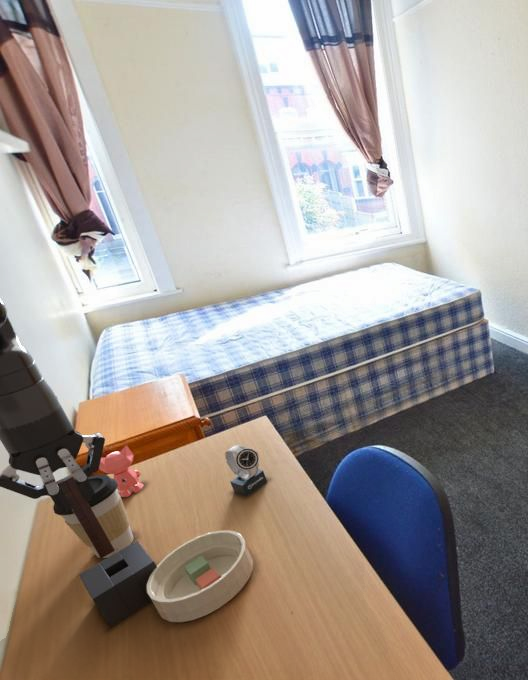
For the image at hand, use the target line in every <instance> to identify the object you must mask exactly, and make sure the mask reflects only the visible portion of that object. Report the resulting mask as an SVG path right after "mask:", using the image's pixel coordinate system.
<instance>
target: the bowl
mask: <svg viewBox="0 0 528 680" xmlns="http://www.w3.org/2000/svg"><path fill="white" fill-rule="evenodd" d="M200 556H202V557H203V558H204V559H205V560H206V561H207V562H208V563H209V566H210V568H214V569H215V570H216V571H217V572H218V574H219V575H220V576H221V578H220V579H218V580H217V581H215V582H214V583H212V584H211V585H210V586H208V587H206V588H204V589H202V590H200V589H199V587H198V585H197V586H196V585H195V584H194V583H193V582H192V580H191V579H190V578H189V576H188V574H187V572H186V570H185V568H184V566H186V565H187V564H189V563H191V562H192V561H194V560H195V559H197V558H198V557H200ZM156 566H157V568H156V569H154V570H153V572H152V573H151V575H150V577H149V580H148V582H147V594H148V595H149V597H150V599H151V601H150V602H152V604H153V606H154V608H155V610H156V611H157V613H158V615H159V616H160V617H161V619H163V620H166V621H167V622H170V623H184V622H190V621H194V620H197V619H200V618H202V617H205V616H208V615H209V614H211V613H213V612H215V611H217V610H218V609H220V608H221V607H223V606H224V605H225V604H227V603H228V602H230V601H231V600H232V599H233V598H235V596H236V595H237V594H238V593H239V592H240V591H241V590H242V589H243V588H244V586H245V585H246V584H247V582H248V581H249V580H250V577H251V575H252V573H253V568H254V560H253V557H252V554H251V551H250V550H249V547H248V545H247V542H246V540H245V538H244V536H243V535H241V534H240V533H239V532H237V531H234V530H224V529H221V530H215V531H210V532H208V533H207V532H206V533H204V534H201V535H198V536H196V537H194V538H192V539H189V540H187V541H186V542H184V543H183V544H181V545H179V546H177V547H176V548H175V549H173V550H172V551H171V552H170V553H168V554H167V555H166V556H165V557H163V558H162V560H161V561H160V562H159V563H158V564H156Z"/></svg>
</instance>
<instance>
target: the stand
mask: <svg viewBox="0 0 528 680" xmlns="http://www.w3.org/2000/svg"><path fill="white" fill-rule="evenodd" d="M156 568H157V564H156V562H155V561H154V560H153V558H152V557H151V556H150V555H149V553H148V552H147V551H146V549H145V548H144V546H143V545H142V544H141V543H140V542H139V541H138V540H136V541H133V542H132V543H131V544H130V545H129V546H127V547H125V548H124V549H122V550H120V551H119V552H117V553H115V554H114V555H112V556H110V557H108V558H104V559H103V560H101V561H100V562H98V563H96V564H95V565H93V566H91V567H89V568H87V569H86V570H84V571H82V572H80V573H79V574H78V576H79V578H80V581H81V582H82V584H83V586H84V587H85V589H86V590H87V592H88V594H89V596H90V598H91V599H92V601H93V603H94V604H95V605H96V607H97V610H99V612H100V613H101V615H102V616H103V618H104V620H105V621H106V623H107V625H108V626H109V627H110V628H112V627H114V626H116V625H117V624H119V623H120V622H122V621H123V620H125V619H126V618H127V617H130V616H131V615H132V614H135V612H137V611H138V610H140V609H142V608H143V607H144V606H145V605H147V604H149V603H150V602H152V601H151V599H150V597H149V595H148V594H147V582H148V580H149V577H150V575H151V573H152V572H153V570H154V569H156Z"/></svg>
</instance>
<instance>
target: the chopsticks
mask: <svg viewBox="0 0 528 680" xmlns="http://www.w3.org/2000/svg"><path fill="white" fill-rule="evenodd" d="M55 481H56V484H57V486H58V487H59V489H60V490H61V491H62V492H63V494H64V496H65V497H66V499H67V501H68V502H69V504H70V506H71V507H72V511H73V512H74V514H75V516H76V517H77V519H78V521H79V522H80V524H81V526H82V528H83V529H84V531H85V533H86V534H87V536H88V538H89V539H90V541H91V543H92V544H93V546H94V548H95V550H96V551H97V553H98V555H99V556H100V558H99V559H104V558H103V557H105V556H106V555H108V554H110V553H112V552H114V551H115V549H114V548H113V546H112V544H111V542H110V541H109V539H108V537H107V535H106V534H105V532H104V530H103V528H102V527H101V525H100V523H99V521H98V520H97V518H96V516H95V514H94V512H93V511H92V509H91V507H90V505H89V504H88V502H87V501H86V499H85V498H84V496H83V494H82V492H81V490H80V489H79V487H78V485H77V483H76V481H75V478H74V475H73V474H70V475H67V476H65V477H63V478H61V479H59V480H55Z"/></svg>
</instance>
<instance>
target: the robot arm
mask: <svg viewBox="0 0 528 680" xmlns="http://www.w3.org/2000/svg"><path fill="white" fill-rule="evenodd" d="M30 353H31V352H29V351H28V349H27V348H26V347H25V346H24V344H23V343H22V342H21V341H20V339H19V336H18V335H17V332H16V331H15V328H14V326H13V324H12V322H11V320H10V318H9V317H8V308H7V307H6V304H5V303H4V301H3V300H2V298H0V442H1V444H2V445H3V447H4V449H5V451H6V452H7V454H8V456H9V457H8V464H9V465H8V466H6V467H5V468H4V469H3V470H2V471H1V472H0V488H3V489H5V490H7V491H11V492H14V493H16V494H19V495H21V496H24V497H27V498H30V499H34V500H36V499H37V500H38V499H39V498H41V497H46V496H48V497H50V498H51V500H52V502H53V504H54V503H55V505H56V507H57V508H58V509H59V510H63V509H66V511H69V510H71V509H72V507H71V506H70V504H69V502H68V501H67V499H66V497H65V496H64V494H63V492H62V491H61V490H60V489H59V487H58V485H57V483H56V481H57V480H56V479H55V476H54V474H53V473H55V472H56V471H58V470H60V469H64V468H67V469H68V470H69V472H70V473H71V475H72V476H73V477H74V479H75V481H76V483H77V485H78V487H79V489H80V490H81V492H82V494H83V496H84V498H85V499H86V501H87V502H88V501H90V500H92V498H91V496H92V495H94V490H93V488H92V486H91V484H90V483H89V481H88V477H90V476H91V475H92V474H95V473H97V472H98V471H100V469H99V466H100V461H101V458H102V456H103V451H104V448H105V444H106V443H105V442H106V439H105V437H104V436H103V435H102V434H101V433H99V432H95V433H93V434H82V433H80V432H79V431H77V430H75V428H74V426H73V425H72V422H71V421H70V418H68V415H67V414H66V412H65V410H64V408H63V407H62V405H61V403H60V401H59V398H58V396H57V395H56V393H55V391H54V390H53V388H52V387H51V386H50V385H49V383H48V382H47V381H46V379H45V378H44V376H43V374H42V372H41V371H40V368H39V367H38V365H37V363H36V361H35V360H34V358H33V356H32V354H30ZM83 444H84V446H85V447H86V448H87V455H86V460H85V464H84V465H83V466H80V465H79V464H78V462H77V461H76V460H77V458H78V455H79V453H80V450H81V447H82V446H83ZM17 471H22V472H23V473H24V472H25V473H29V474H32V475H36V476H39V477H40V480H41V481H42V485H35V484H33V483H30V482H28V481H26V480H23V479H20V475H19V473H18V472H17Z"/></svg>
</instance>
